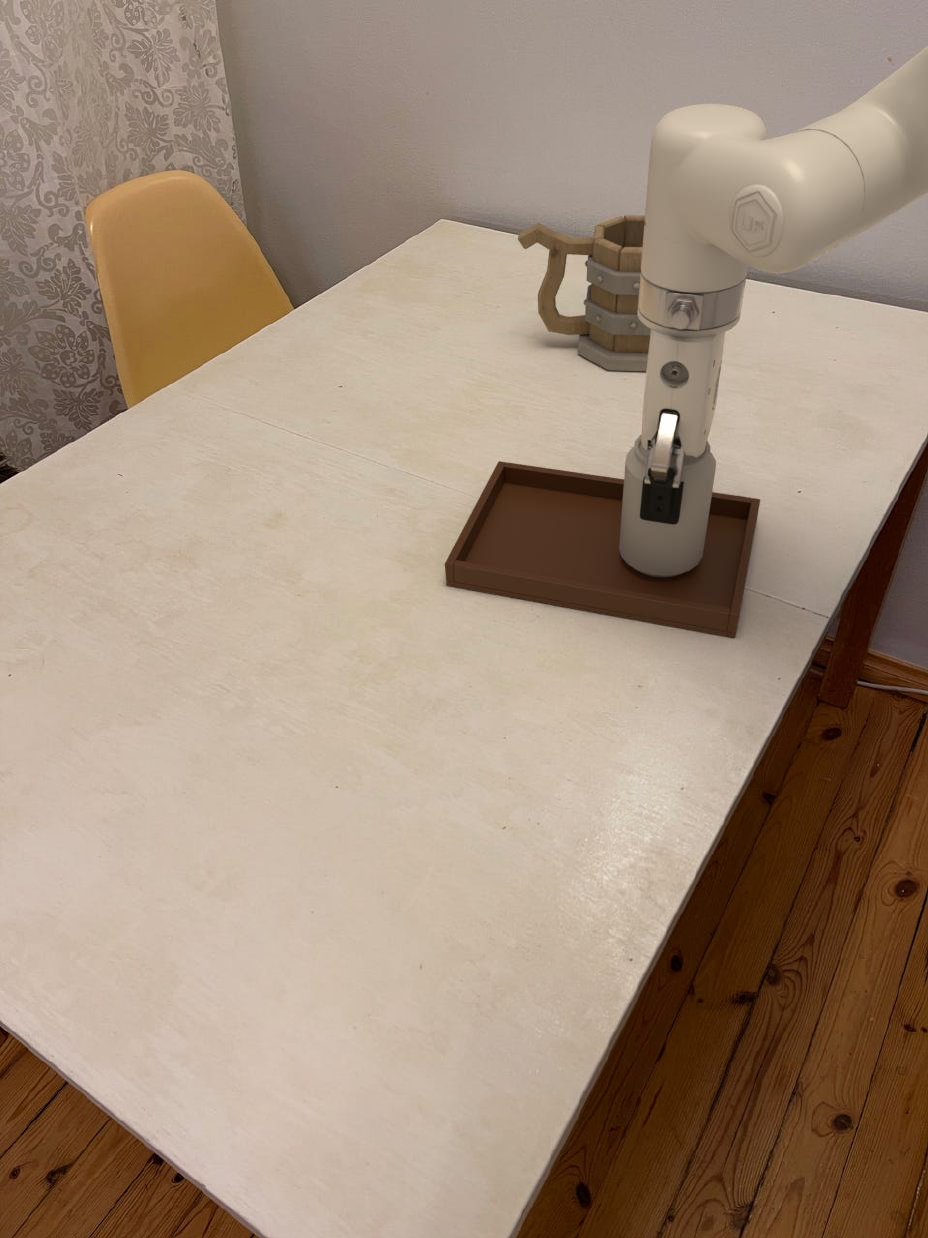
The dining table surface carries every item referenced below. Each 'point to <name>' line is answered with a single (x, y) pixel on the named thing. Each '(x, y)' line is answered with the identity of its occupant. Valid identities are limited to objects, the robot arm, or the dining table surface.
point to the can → (662, 543)
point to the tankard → (599, 291)
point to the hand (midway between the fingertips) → (667, 490)
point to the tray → (596, 551)
